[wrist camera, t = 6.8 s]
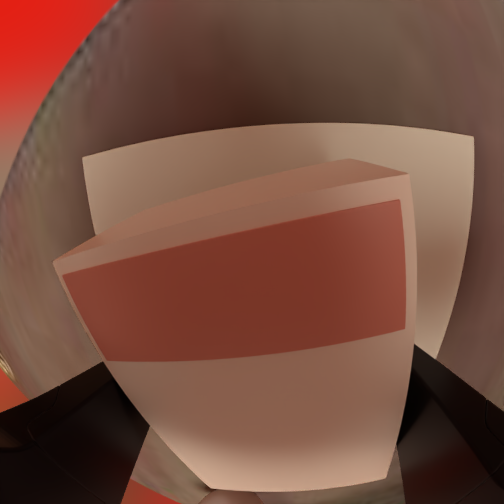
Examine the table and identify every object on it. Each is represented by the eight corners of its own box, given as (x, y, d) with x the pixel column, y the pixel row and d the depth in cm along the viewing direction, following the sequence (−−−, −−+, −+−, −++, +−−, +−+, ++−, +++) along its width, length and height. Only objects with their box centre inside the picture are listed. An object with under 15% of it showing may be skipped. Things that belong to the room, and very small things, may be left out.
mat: (467, 136, 8) (473, 136, 8) (425, 371, 12) (427, 377, 12) (89, 156, 10) (82, 157, 10) (145, 370, 15) (141, 375, 14)
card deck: (371, 395, 10) (385, 479, 6) (230, 411, 11) (210, 489, 7) (349, 158, 7) (410, 174, 3) (144, 209, 8) (50, 262, 4)
